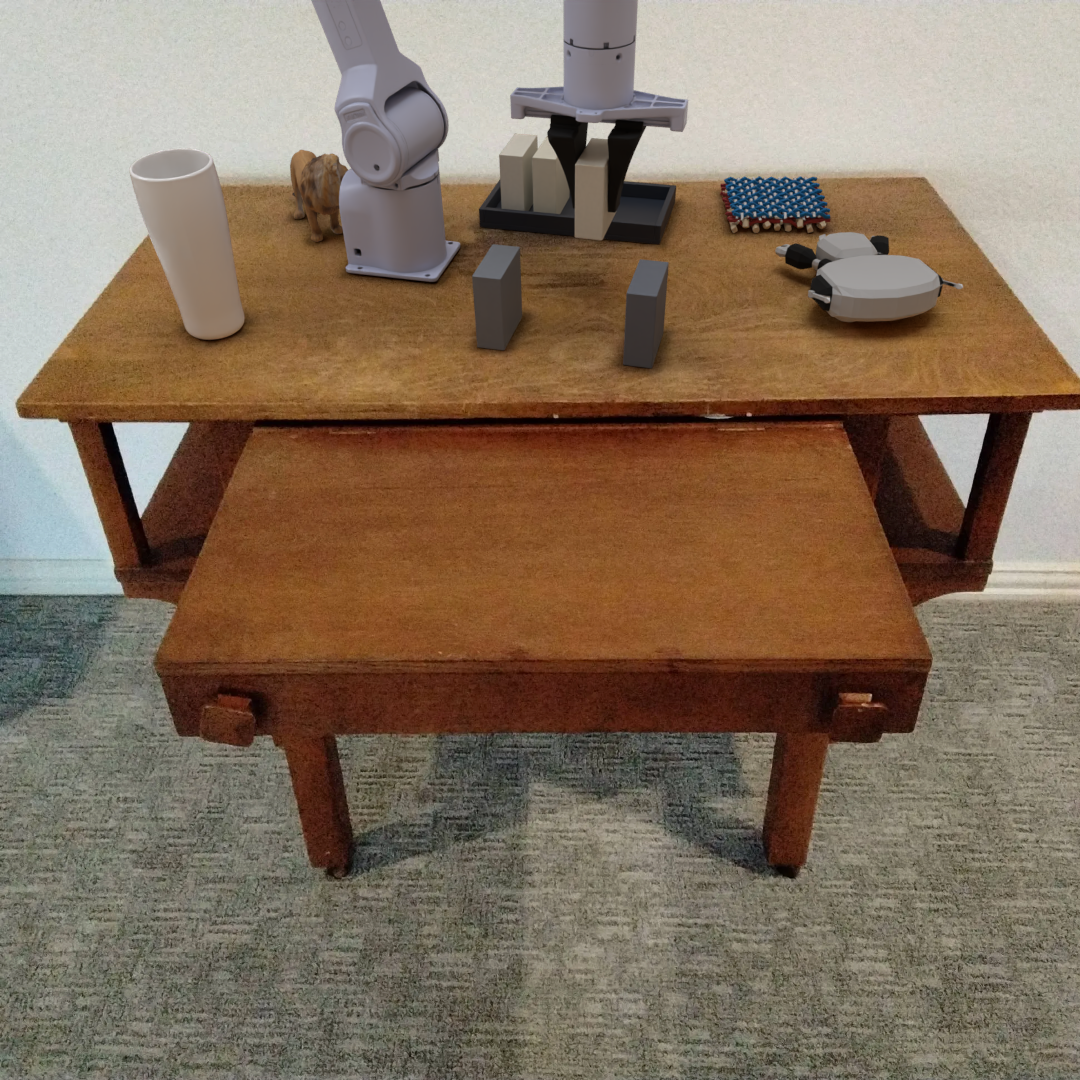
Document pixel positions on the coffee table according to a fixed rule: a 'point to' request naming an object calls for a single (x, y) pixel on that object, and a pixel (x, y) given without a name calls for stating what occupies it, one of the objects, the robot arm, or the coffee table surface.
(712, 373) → the coffee table surface
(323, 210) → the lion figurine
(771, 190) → the woven mat
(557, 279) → the coffee table surface
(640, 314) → the grey books
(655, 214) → the tray
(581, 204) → the cream rectangular block
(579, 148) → the robot arm
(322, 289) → the coffee table surface
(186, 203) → the drinking glass
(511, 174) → the cream books on tray
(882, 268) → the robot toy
